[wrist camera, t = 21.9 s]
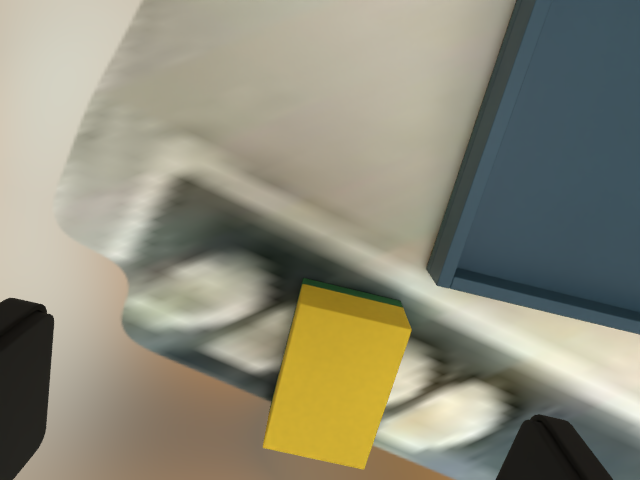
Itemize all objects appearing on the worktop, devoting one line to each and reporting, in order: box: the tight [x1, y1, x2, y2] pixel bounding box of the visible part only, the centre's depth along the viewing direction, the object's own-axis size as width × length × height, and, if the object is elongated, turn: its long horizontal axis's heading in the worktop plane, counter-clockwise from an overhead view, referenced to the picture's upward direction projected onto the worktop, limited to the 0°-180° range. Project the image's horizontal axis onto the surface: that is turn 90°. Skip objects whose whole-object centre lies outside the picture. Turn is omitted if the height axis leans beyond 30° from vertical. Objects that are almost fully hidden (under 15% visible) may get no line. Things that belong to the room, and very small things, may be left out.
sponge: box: [263, 278, 412, 469], centre depth 28 cm, size 10×6×4 cm, turn 166°
